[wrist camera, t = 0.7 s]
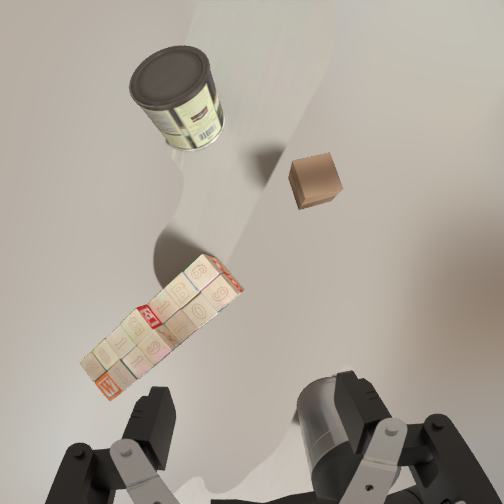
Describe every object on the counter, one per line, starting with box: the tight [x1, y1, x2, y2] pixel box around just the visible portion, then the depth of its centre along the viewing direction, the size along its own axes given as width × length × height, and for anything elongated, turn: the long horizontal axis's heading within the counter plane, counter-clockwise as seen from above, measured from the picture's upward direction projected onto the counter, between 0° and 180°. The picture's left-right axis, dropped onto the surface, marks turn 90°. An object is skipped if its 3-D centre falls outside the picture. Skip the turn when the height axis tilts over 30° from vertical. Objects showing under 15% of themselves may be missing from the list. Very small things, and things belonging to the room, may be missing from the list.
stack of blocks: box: [80, 254, 244, 401], centre depth 34 cm, size 21×6×12 cm, turn 131°
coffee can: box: [129, 46, 225, 151], centre depth 35 cm, size 10×10×14 cm
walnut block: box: [289, 153, 343, 210], centre depth 37 cm, size 5×5×7 cm
